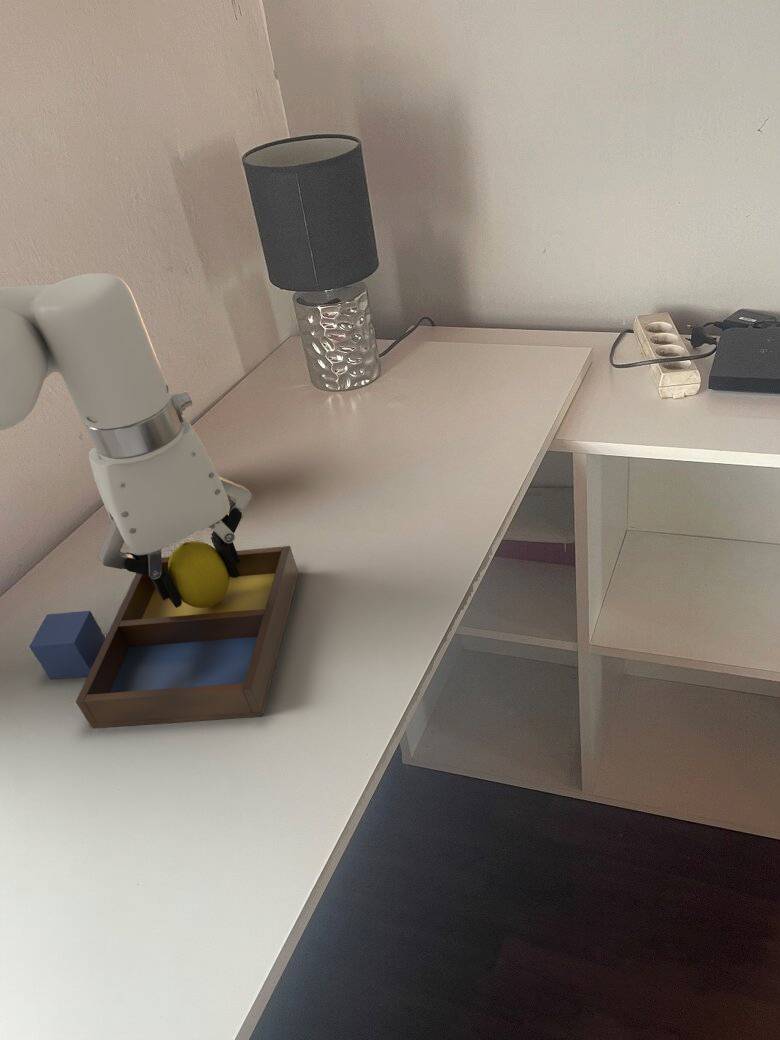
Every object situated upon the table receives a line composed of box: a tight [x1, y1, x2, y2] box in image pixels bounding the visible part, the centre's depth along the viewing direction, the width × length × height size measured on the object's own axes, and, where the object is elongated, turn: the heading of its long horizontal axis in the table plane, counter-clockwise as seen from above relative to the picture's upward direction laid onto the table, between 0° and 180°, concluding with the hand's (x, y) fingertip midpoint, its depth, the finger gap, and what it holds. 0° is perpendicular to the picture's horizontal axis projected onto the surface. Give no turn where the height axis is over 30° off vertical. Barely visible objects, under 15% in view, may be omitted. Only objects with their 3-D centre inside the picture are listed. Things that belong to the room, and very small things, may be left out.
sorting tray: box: [75, 545, 300, 729], centre depth 84 cm, size 16×20×4 cm
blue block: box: [29, 610, 106, 680], centre depth 84 cm, size 4×4×4 cm
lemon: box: [168, 540, 229, 608], centre depth 85 cm, size 6×6×8 cm
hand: (202, 584), depth 86 cm, fingers closed on lemon, 5 cm apart
